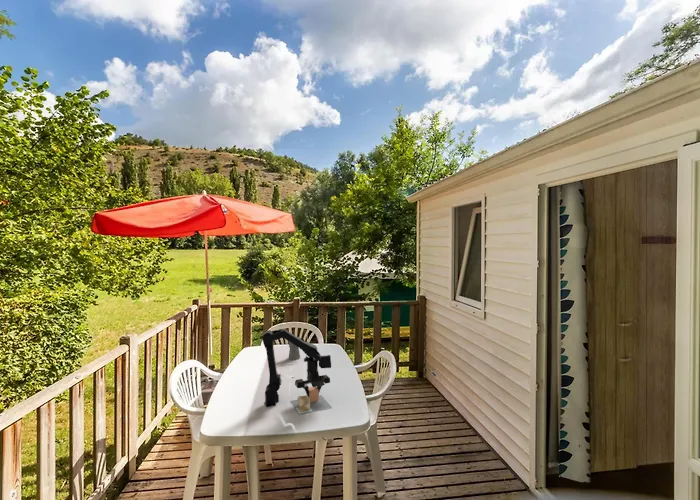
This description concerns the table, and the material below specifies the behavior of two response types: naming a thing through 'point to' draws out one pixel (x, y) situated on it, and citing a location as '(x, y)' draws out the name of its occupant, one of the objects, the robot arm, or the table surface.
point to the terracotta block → (313, 394)
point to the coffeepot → (294, 350)
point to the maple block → (303, 403)
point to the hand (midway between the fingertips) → (312, 396)
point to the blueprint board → (313, 405)
